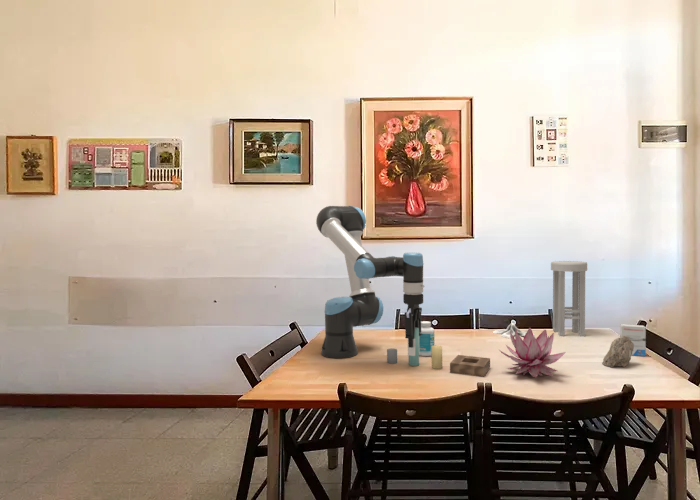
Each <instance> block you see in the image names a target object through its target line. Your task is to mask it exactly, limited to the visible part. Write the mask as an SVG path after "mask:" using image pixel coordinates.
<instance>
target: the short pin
mask: <svg viewBox="0 0 700 500" xmlns="http://www.w3.org/2000/svg"><path fill="white" fill-rule="evenodd" d="M386 363H387V364H388V365H389V364H390V365H394V364H398V349H397V348H387V349H386Z"/></svg>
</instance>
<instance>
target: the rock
mask: <svg viewBox="0 0 700 500" xmlns="http://www.w3.org/2000/svg"><path fill="white" fill-rule="evenodd" d="M633 349H634V344H633V342H632V341H631V340H629V337H628V336H621V337H620V336H619V337H617V338H615V339H614V340H613V341H612V342H611V343H610V347H609V349H608V351H607V353H606V354H605V356H603V360H602V362H601V364H602V365H603V366H605V367H608V368H609V367H610V368H613V367H623V368H624V367H626V366H628V364H630V361H631V359H632V351H633Z"/></svg>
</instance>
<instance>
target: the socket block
mask: <svg viewBox="0 0 700 500" xmlns="http://www.w3.org/2000/svg"><path fill="white" fill-rule="evenodd" d="M490 369H491V358H490V357H484V356H483V357H482V356H481V357H480V356H473V355H463V354H458V355H456V356H455V357H454V359H452V360H451V361H450V363H449V373H451V374H459V375H465V376H466V375H467V376H476V377H482V378H484V377H486V374H487V373H488V371H490Z"/></svg>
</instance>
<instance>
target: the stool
mask: <svg viewBox="0 0 700 500" xmlns="http://www.w3.org/2000/svg"><path fill="white" fill-rule="evenodd" d="M550 270H551V271H552V332H553V333H558V336H559V337H565V334H566V328H565V327H566V325H565V321H566V320H571V322H572V323H571V328H572V330H571V332H573V333H578V336H579V337H586V272H587V271H588V262H586V261H578V260H557V261H556V260H555V261H551V262H550ZM566 272H570V273H571V272H572V276H571V277H572V279H571V280H572V283H571V284H572V287H571V288H572V298H571V299H572V303H571V304H572V305H571V306H566V304H565V303H566V294H565V293H566V292H565V291H566V286H565V285H566V284H565V283H566Z"/></svg>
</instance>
